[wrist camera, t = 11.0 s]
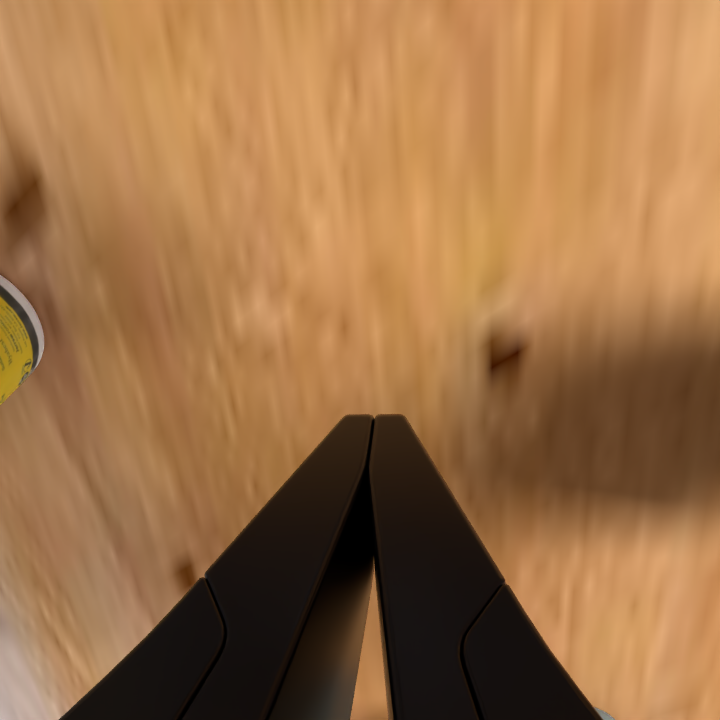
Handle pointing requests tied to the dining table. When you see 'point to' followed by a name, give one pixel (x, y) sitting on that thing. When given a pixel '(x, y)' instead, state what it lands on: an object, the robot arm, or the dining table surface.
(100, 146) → the dining table surface
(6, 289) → the supplement bottle
